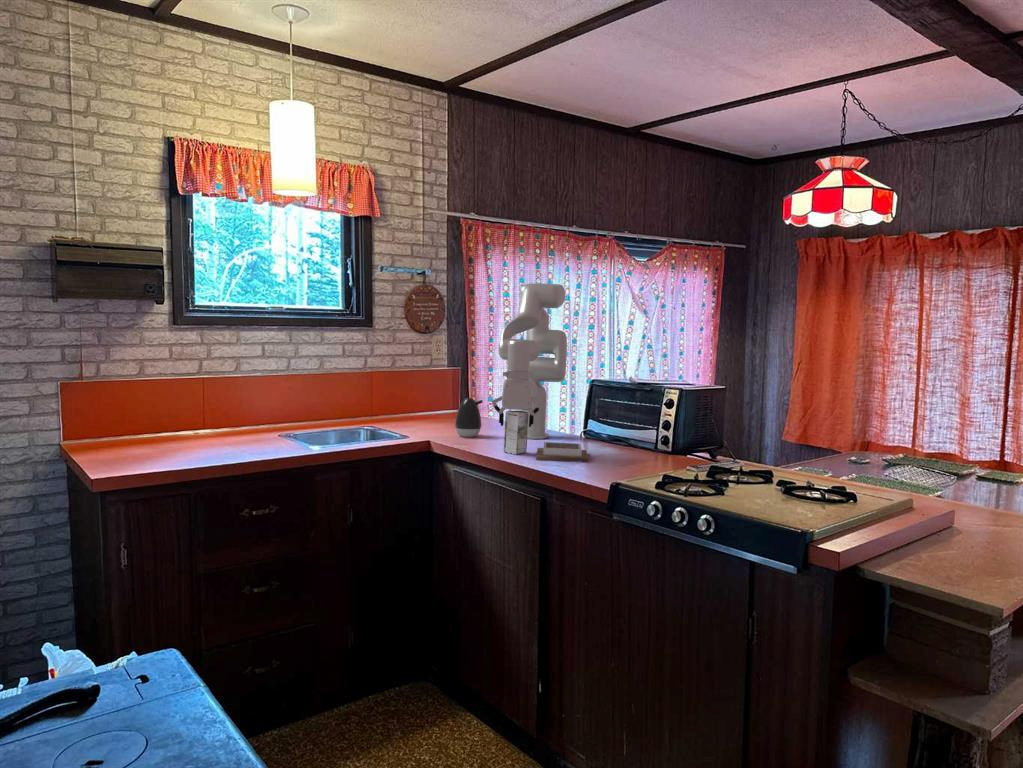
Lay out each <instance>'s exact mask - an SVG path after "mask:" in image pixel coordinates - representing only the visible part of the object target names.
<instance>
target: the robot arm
mask: <svg viewBox="0 0 1023 768" xmlns="http://www.w3.org/2000/svg"><path fill="white" fill-rule="evenodd" d="M519 294H520V295H519V296H520V301H519V306H518V311H517V315H516V317H513V318H512V319H511V320H510V321H508V323H507V324H505V326H504V327H503V329H502V331H501V334H500V339H499V342H498V356H499V357H500V358H501V359H502V360H505V361H507V366H506V367H507V369H506V371H503V372H502V377H506V379H504V381H503V385H502V386H503V387H502V395H501V396H499V397H496V398H495V399H492V400H491V403H492V407H493V408H494V410H495V411H496V412H497V414H498V423H499V424H500V427H502V426H504V424H505V422H504V421H505V418H504V417H505V414H504V412H505V410H514V411H515V410H521V411H526V412H528V431H527V440H528V439H529V440H545V439H548V438H549V437H550V435H549V434H548V433H546V422H547V421H546V420H547V418H546V417H547V416H546V415H547V398H548V397H547V390H546V389H545V387H544V386H543V384H542V382H543V383H544V382H547V383H561V382H563V381H564V380H565V378H566V374H567V354H568V350H567V349H568V339H567V334H566V332H564V331H563V330H561V329H549V327H550V326H549V323H550V316H549V314H548V312H547V311H546V309H559V308H560V307H562V306H563V304H564V303H565V300H566V290H565V288H564V286H563V284H560V283H558V284H557V283H538V282H537V283H526V284H523V285H521V287H520V291H519ZM525 332H526V339H521V338H520V339H519V338H518V339H517V338H513V337H515V336H516V335H518V334H521V333H525ZM541 354H544V355H553V356H554V357H548V356H540V355H541ZM499 402H501V406H502V407H501V408H500V407H499V405H498V403H499Z"/></svg>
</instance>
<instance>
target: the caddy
mask: <svg viewBox="0 0 1023 768" xmlns="http://www.w3.org/2000/svg"><path fill="white" fill-rule="evenodd" d="M535 457H536V459H535V460H536V461H548V460H555V461H554V462H570V461H582V462H581V463H589V455H588V452H587V449H582V445H581V443H576V442H575V443H574V442H573V443H572V442H555V441H554V442H551V441H549V442H548V441H544V442H543V447H537V450H536V456H535Z"/></svg>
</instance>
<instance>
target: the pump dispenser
mask: <svg viewBox="0 0 1023 768" xmlns="http://www.w3.org/2000/svg"><path fill="white" fill-rule="evenodd" d="M483 402H484V401H483V399H481V400H477V401H476V400H475V399H474V398H473V397H465V398H464V399H463V400H462V402H461V403H460V405H459V408H458V409H457V413H456V417H455V423H454V428H455V430H456V433H457V435H459V436H460V437H462V438H475V437H477V436H478V435H479V434H480V431H481V428H482V417H481V412H480V409H479V406H478V405H480V404H483Z"/></svg>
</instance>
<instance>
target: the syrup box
mask: <svg viewBox="0 0 1023 768" xmlns="http://www.w3.org/2000/svg"><path fill="white" fill-rule="evenodd" d="M504 417H505V418H504V421H505V422H504V439H503V453H504V452H507V453H506V454H510V453H512V454H511V455H522V454H521V453H523V454H526V453H527V449H528V447H527V446H528V439H527V431H528V412H526V411H522V410H515V409H514V410H507V411H505V416H504Z"/></svg>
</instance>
